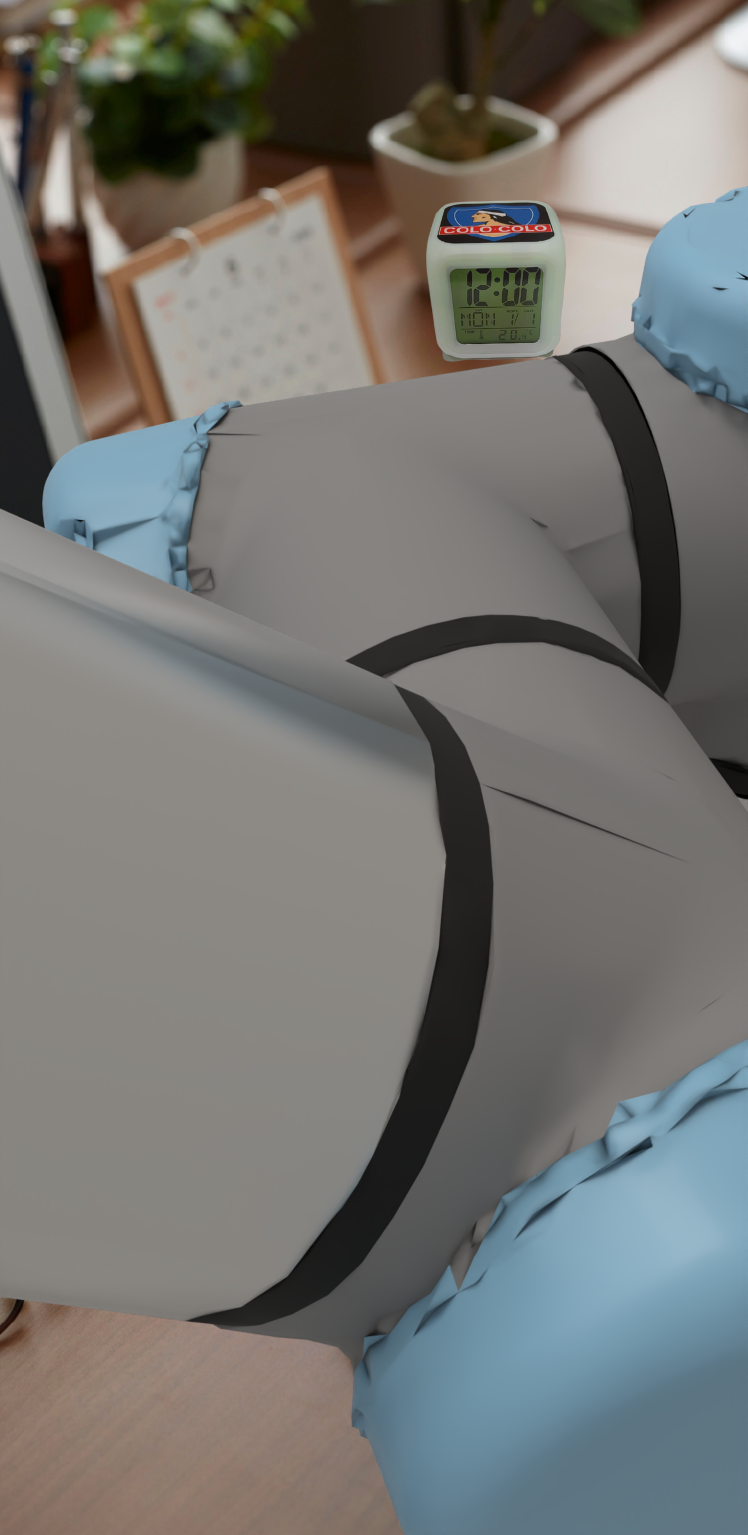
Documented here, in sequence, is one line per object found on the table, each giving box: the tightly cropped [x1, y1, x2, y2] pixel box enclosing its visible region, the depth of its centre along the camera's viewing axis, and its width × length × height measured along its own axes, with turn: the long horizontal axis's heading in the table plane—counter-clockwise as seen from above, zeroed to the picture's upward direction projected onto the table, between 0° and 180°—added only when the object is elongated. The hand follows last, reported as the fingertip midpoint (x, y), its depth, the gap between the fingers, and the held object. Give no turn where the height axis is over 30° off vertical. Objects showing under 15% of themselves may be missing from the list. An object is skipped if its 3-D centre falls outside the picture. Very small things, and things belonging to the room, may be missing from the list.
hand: (692, 1320), depth 51 cm, fingers closed
